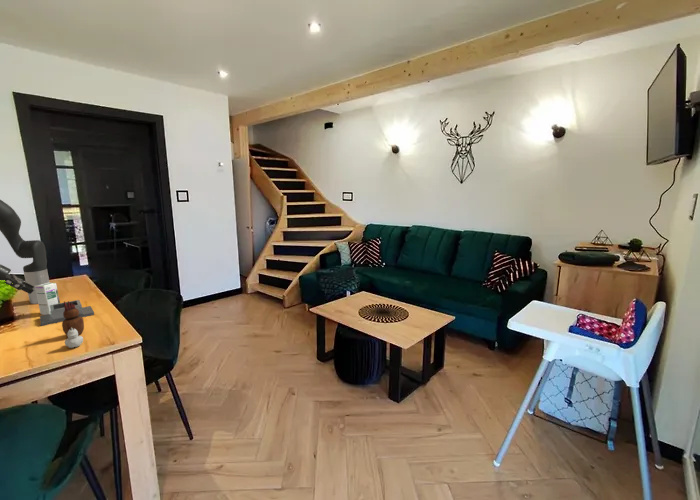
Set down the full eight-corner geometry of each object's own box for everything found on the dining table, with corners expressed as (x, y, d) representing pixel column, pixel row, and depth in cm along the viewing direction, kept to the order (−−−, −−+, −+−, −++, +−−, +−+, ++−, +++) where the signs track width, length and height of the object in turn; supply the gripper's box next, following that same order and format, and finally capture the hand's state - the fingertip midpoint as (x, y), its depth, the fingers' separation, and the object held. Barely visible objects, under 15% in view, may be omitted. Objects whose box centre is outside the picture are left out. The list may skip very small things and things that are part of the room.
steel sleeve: (40, 318, 158) (38, 306, 157) (90, 308, 171) (89, 297, 170) (40, 326, 149) (38, 313, 148) (94, 314, 161) (92, 303, 160)
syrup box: (49, 315, 162) (44, 285, 159) (39, 314, 163) (34, 285, 161) (61, 311, 168) (56, 282, 165) (52, 310, 169) (47, 282, 166)
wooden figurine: (67, 339, 134) (61, 303, 131) (62, 336, 137) (55, 301, 134) (87, 333, 140) (82, 298, 137) (81, 330, 143) (76, 296, 140)
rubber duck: (65, 351, 124) (61, 331, 123) (66, 345, 129) (62, 325, 128) (84, 347, 127) (80, 327, 126) (83, 341, 132) (80, 321, 131)
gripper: (-2, 266, 146) (39, 286, 156) (0, 261, 157) (38, 280, 166) (-17, 280, 144) (25, 300, 153) (-14, 275, 154) (26, 293, 164)
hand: (32, 290), depth 160 cm, fingers open, 8 cm apart
